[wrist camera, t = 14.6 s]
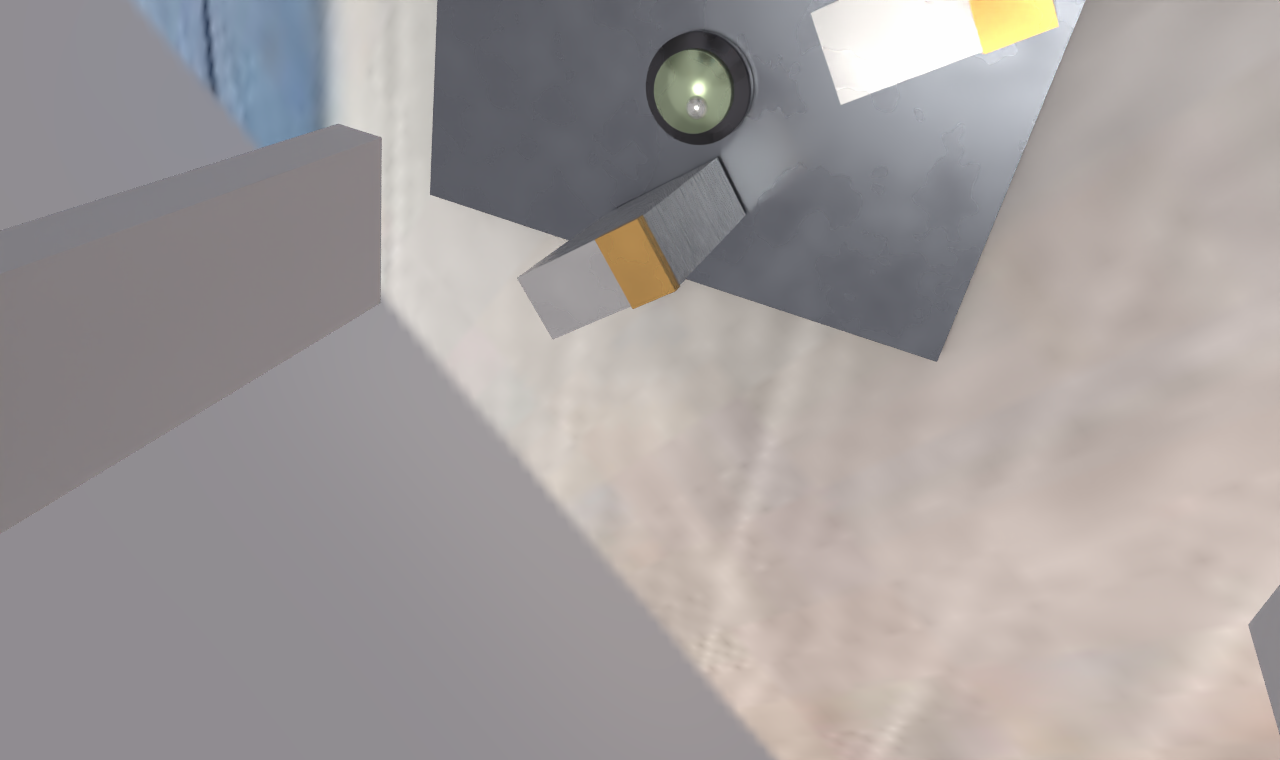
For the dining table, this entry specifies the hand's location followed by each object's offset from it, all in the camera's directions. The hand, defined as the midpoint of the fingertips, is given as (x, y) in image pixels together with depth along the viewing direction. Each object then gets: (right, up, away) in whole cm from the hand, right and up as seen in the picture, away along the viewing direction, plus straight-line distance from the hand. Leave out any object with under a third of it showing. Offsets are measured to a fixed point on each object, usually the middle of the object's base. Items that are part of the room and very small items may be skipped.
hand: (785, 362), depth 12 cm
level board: (+1, +15, +32) cm, 35 cm away
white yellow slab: (+11, +16, +25) cm, 32 cm away
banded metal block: (0, +9, +34) cm, 35 cm away
